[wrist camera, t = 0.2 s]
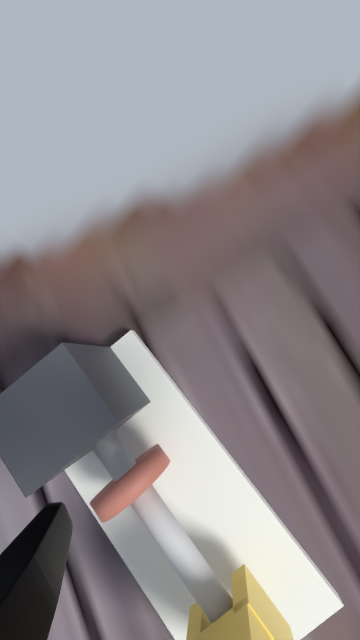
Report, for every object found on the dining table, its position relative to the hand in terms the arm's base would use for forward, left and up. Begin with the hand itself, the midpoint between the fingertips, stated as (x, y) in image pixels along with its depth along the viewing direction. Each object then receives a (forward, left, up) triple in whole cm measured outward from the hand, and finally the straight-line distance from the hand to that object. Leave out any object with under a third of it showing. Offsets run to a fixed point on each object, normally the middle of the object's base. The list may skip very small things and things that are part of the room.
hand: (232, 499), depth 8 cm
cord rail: (-2, +7, -14) cm, 16 cm away
